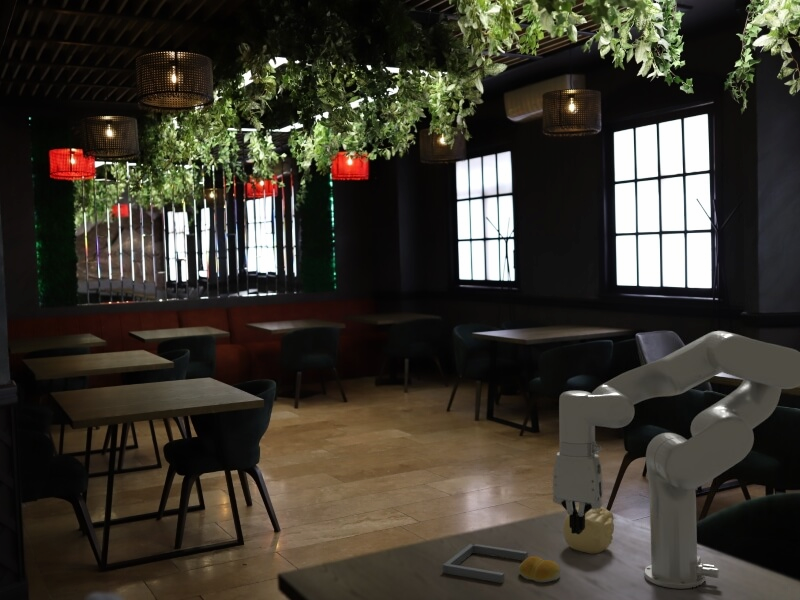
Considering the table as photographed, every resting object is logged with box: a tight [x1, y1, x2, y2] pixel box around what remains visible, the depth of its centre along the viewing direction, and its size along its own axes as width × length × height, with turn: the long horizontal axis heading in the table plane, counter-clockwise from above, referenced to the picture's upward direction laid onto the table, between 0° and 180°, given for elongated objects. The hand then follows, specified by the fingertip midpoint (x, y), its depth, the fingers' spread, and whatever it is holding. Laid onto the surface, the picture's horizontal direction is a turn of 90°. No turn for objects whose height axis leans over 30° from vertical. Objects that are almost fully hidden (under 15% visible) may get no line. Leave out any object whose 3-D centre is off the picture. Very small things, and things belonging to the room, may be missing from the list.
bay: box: [442, 543, 529, 584], centre depth 192 cm, size 15×15×2 cm
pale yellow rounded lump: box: [562, 506, 615, 554], centre depth 200 cm, size 12×12×11 cm
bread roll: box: [518, 555, 561, 583], centre depth 185 cm, size 8×9×4 cm
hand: (577, 531), depth 180 cm, fingers closed
